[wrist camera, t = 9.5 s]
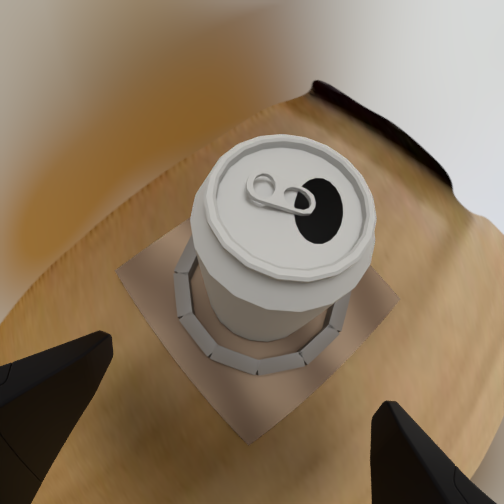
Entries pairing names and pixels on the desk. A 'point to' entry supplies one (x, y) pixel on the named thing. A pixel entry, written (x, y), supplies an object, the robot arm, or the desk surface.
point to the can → (281, 234)
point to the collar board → (241, 349)
